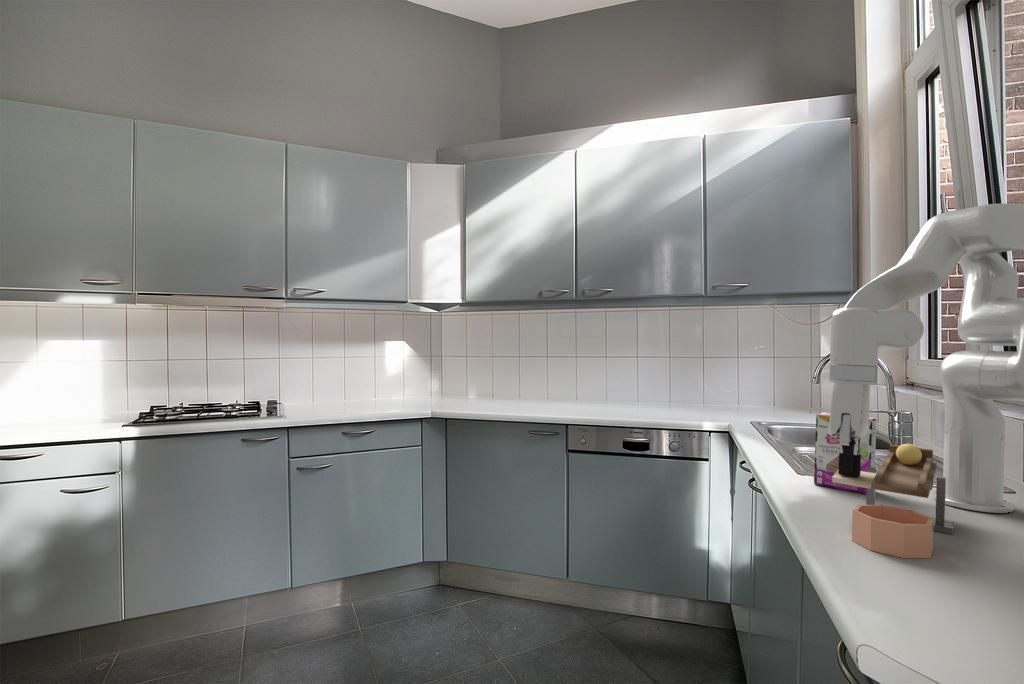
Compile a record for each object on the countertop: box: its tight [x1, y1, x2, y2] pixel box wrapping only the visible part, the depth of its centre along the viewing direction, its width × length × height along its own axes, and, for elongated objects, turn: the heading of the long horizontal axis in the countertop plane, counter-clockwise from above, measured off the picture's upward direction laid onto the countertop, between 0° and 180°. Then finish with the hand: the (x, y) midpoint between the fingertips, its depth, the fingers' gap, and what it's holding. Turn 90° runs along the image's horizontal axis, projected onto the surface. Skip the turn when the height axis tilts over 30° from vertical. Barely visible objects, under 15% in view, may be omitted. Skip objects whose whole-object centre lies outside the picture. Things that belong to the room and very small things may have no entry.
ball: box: [896, 443, 922, 465], centre depth 104 cm, size 4×4×4 cm
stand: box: [865, 466, 955, 535], centre depth 100 cm, size 5×14×9 cm, turn 49°
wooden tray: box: [832, 444, 938, 499], centre depth 102 cm, size 18×14×7 cm
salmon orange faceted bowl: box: [851, 504, 934, 559], centre depth 88 cm, size 10×10×5 cm
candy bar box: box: [813, 412, 877, 495], centre depth 123 cm, size 11×5×16 cm, turn 47°
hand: (849, 475), depth 100 cm, fingers closed
